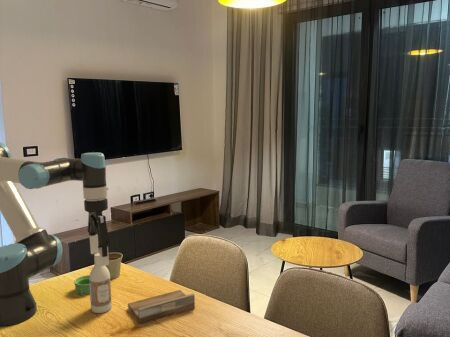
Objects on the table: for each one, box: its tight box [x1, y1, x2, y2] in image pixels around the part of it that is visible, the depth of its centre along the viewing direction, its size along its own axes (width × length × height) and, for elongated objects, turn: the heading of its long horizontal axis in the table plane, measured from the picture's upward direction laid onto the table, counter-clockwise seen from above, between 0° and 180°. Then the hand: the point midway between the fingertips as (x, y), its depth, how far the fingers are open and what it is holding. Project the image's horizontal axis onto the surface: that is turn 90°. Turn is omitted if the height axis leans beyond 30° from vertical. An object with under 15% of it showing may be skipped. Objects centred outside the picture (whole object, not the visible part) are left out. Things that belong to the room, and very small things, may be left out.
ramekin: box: [73, 274, 90, 296], centre depth 153 cm, size 9×9×4 cm
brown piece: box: [127, 289, 196, 325], centre depth 138 cm, size 12×20×5 cm, turn 121°
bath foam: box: [89, 253, 112, 314], centre depth 137 cm, size 7×7×20 cm
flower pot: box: [106, 252, 123, 280], centre depth 166 cm, size 9×9×9 cm
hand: (99, 259), depth 136 cm, fingers open, 13 cm apart
